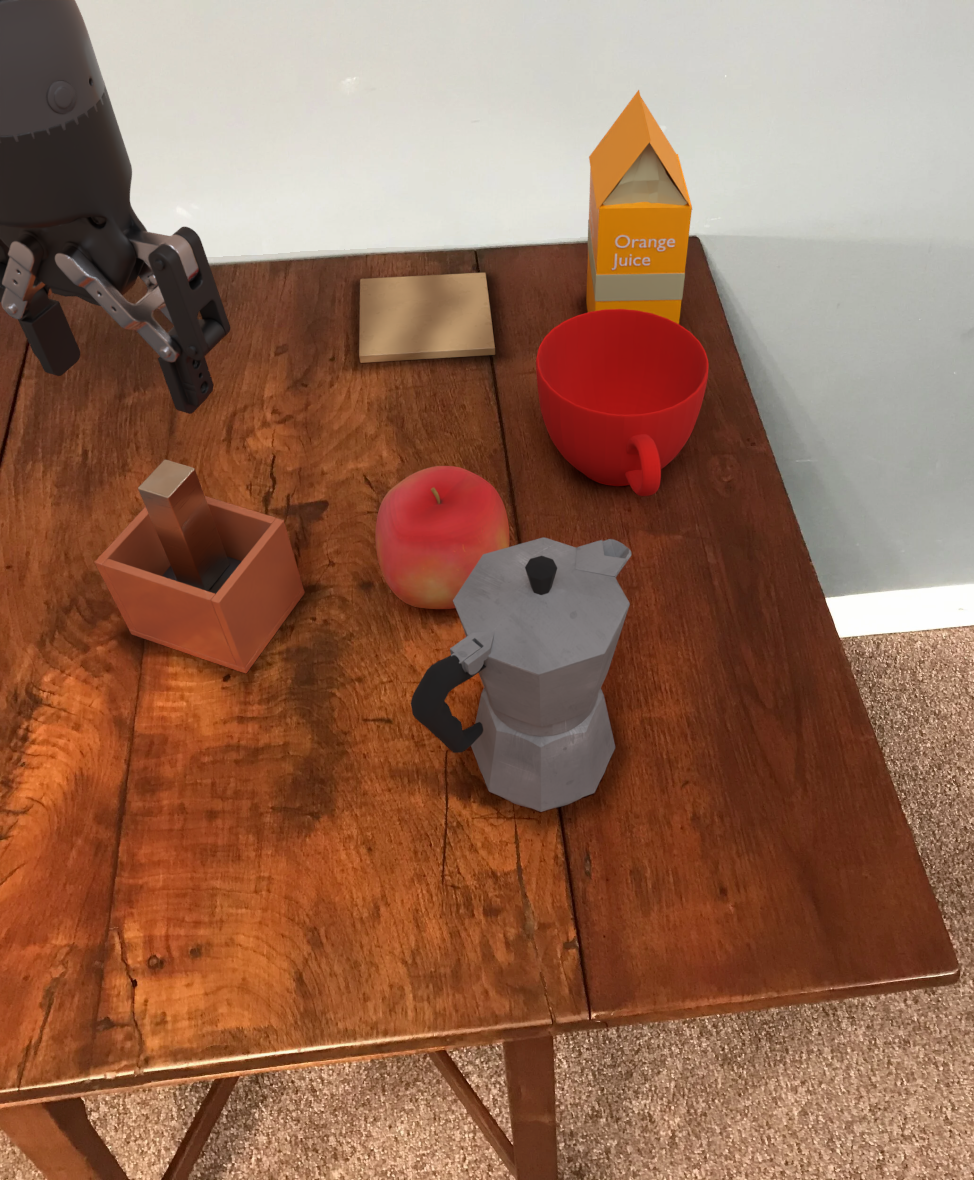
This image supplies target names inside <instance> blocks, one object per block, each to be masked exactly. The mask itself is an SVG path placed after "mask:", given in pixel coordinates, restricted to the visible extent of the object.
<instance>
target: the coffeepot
mask: <svg viewBox="0 0 974 1180" xmlns="http://www.w3.org/2000/svg"><path fill="white" fill-rule="evenodd" d="M631 556H632V551H631V549H630V548H629V547H628V546H626V545H625V544H623V542H621V541H618V540H616V539H613V538H608V539H605V540H603V539H600V540H595V541H594V542H593V541H592V542H590V543H586V544H583V545H580V546H572V545H569V544H566V543H564V542H560V541H557V540H554V539H551V538H548V537H546V536H545V537H544V536H543V537H540V538H536V539H533V540H529V541H526V542H521V543H518V544H515V545H511V546H509V547H507V548H504V549H500V550H497V551H493V552H490V553H486V554H483V555H482V557H481V558H480V560H479V561H478V563H477V564H476V566H475V568H474V569H473V571H472V572H471V574H470V575H469V577H468V578H467V580H466V581H465V583H464V584H463V586H462V587H461V589H460V591H459V592H458V594H457V595H456V597H455V598H454V600H453V603H454V605H455V608H454V609H455V610H456V612H457V615H458V618H459V620H460V621H459V622H460V623H461V627H462V629H463V632H464V635H465V637H464V638H463V639H462V640H460V641H458V642H457V643H456V644H454V645H453V646H451V647H450V648H449V652H450V655H448V656H446V657H444V658H442V659H440V660H438V661H436V662H435V663H433V664H431V665H430V666H429V667H428V668H427V669H426V671H425V673H424V674H423V675H422V678H421V680H420V681H419V683H418V685H417V686H416V688H415V690H414V692H413V694H412V696H411V701H410V707H411V713H412V716H413V717H414V719H416V721H418V722H419V723H420V724H421V725H422V726H424V727H425V728H426V729H427V730H428V731H429V732H430V733H431V734H433V735H434V736H435V737H436V738H437V739H438V740H439V741H440V742H441V743H442V744H443V745H444V746H445V747H447V749H448V750H449V751H451V752H452V753H453V754H463V752H465V751H466V750H468V749H469V748H470V747H471V750H472V752H473V755H474V757H475V758H474V759H475V760H476V763H477V766H478V769H479V771H480V774H481V775H482V777H483V780H484V783H485V786H486V788H487V790H488V792H489V793H491V794H493V795H496V796H498V797H500V798H502V799H504V800H506V801H508V802H510V803H511V804H515V805H517V806H521V807H524V808H527V809H532V810H535V811H537V812H540V813H542V812H547V811H549V810H552V809H557V808H560V807H565V806H569V805H571V804H572V803H574V802H578V801H579V800H581V799H583V798H584V797H587V796H589V795H593V794H595V793H596V791H597V788H598V786H599V784H600V782H601V780H602V778H603V777H604V775H605V773H606V770H607V767H608V765H609V763H610V760H611V758H612V756H613V754H614V752H615V750H616V744H615V743H616V742H615V739H614V735H613V731H612V726H611V721H610V717H609V712H608V708H607V704H606V698H605V695H604V692H603V690H602V686H603V684H604V682H605V679H606V677H607V675H608V673H609V670H610V667H611V664H612V661H613V658H614V655H615V651H616V649H617V645H618V642H619V639H620V636H621V633H622V630H623V627H624V624H625V620H626V617H627V614H628V612H629V608H630V605H631V603H630V601H629V600H628V598H627V596H626V594H625V592H624V590H623V589H622V587H621V585H620V584H619V581H618V580H617V577H618V575H619V574H620V573H621V572H622V569H623V568H624V566H626V564H627V563H628V561H629V560H630V558H631ZM476 675H479V679H480V680H481V683H482V685H483V689H482V691H481V693H480V698H479V703H478V708H477V714H476V718H475V723H473V724H472V725H470V726H469V727H466V728H464V729H463V724H462V721H461V720H460V719H458V717H456V716H455V715H453V713H452V711H451V708H450V705H449V704H448V703H447V702H446V699H447V697H448V695H449V693H450V692H451V691H452V690H454V689H456V688H457V687H458V686H460V685H462V684H464V683H466V682H467V681H468V680H471V679H472V678H473V677H475V676H476Z"/></svg>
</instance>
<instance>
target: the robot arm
mask: <svg viewBox="0 0 974 1180" xmlns="http://www.w3.org/2000/svg"><path fill="white" fill-rule="evenodd" d="M132 179H133V167H132V163H131V160H130V157H129V154H128V150H127V148H126V144H125V141H124V139H123V135H122V132H121V129H120V126H119V123H118V120H117V117H116V114H115V111H114V108H113V105H112V102H111V98H110V96H109V92H108V89H107V86H106V83H105V80H104V78H103V75H102V71H101V68H100V65H99V62H98V59H97V56H96V53H95V50H94V46H93V43H92V40H91V37H90V34H89V30H88V28H87V26H86V23H85V20H84V17H83V15H82V12H81V10H80V7H79V5H78V3H77V1H76V0H0V305H1V308H2V309H3V311H4V312H5V313H6V314H7V315H8V316H9V317H11V318H13V319H15V320H17V322H18V323H19V325H20V327H21V329H22V331H23V334H24V335H25V336H24V337H25V338H26V340H27V342H28V344H29V345H30V349H31V351H32V353H33V355H34V356H35V357H36V358H37V360H38V361H39V363H40V365H41V367H42V369H43V371H44V372H45V373H46V374H50V375H54V376H57V377H62V376H63V375H64V374H65V373H66V372H68V371H69V370H70V369H71V368H72V367H74V365H76V364H77V363H78V362H79V360H80V358H81V350H80V348H79V345H78V342H77V340H76V338H75V336H74V333H73V330H72V329H71V325H70V323H69V321H68V319H67V316H66V314H65V312H64V310H63V308H62V305H61V303H60V301H59V300H56V299H53V298H49V297H50V296H51V295H52V294H54V295H58V296H61V297H75V298H79V299H82V301H85V302H87V303H89V304H91V305H95V306H98V307H102V309H103V311H105V312H106V313H107V314H108V315H109V316H110V317H111V318H112V319H113V320H114V322H116V323H117V325H118V326H119V327H121V328H122V329H123V330H126V331H135V332H136V333H138V335H139V336H140V337H141V338H142V339H143V340H144V341H145V342H146V343H147V344H148V345H149V346H150V347H151V348H152V349H153V351H154V352H155V353H156V354H157V355H158V358H157V362H158V364H159V367H160V369H161V372H162V375H163V377H164V380H165V384H166V386H167V389H168V391H169V394H170V398H171V400H172V402H173V405H174V408H175V410H176V411H178V412H181V413H184V414H189V415H191V414H192V415H193V414H194V412H195V411H196V410H197V409H198V408H199V407H201V405H202V404H203V403H204V402H205V401H207V399H208V398H209V396H210V395H211V394H212V393H213V391H214V385H215V384H214V381H213V378H212V375H211V372H210V369H209V366H208V363H207V360H206V356H207V355H208V354H209V353H210V352H212V350H213V349H214V348H215V347H216V346H217V345H218V344H219V343H220V342H221V341H222V340H223V339H224V338H225V337H226V336H227V335H228V334H229V333H230V332H231V325H230V322H229V319H228V316H227V313H226V310H225V307H224V304H223V301H222V297H221V294H220V292H219V289H218V286H217V284H216V281H215V278H214V273H213V271H212V268H211V265H210V262H209V260H208V257H207V254H206V250H205V248H204V245H203V242H202V240H201V238H200V235H199V234H198V233H197V232H196V231H195V230H194V229H193V228H190V227H188V226H181V227H180V228H179V229H177V230H176V231H175V232H174V233H173V234H172V235H167V234H166V235H165V234H161V233H157V232H151V231H148V230H147V228H146V226H145V225H144V223H143V222H142V221H141V220H140V218H139V216H138V215H137V214H136V212H135V210H134V209H133V207H132V203H131V188H132ZM138 277H139V278H140V279H141V281H143V283H144V284H145V286H146V293H145V295H144V296H142V298H140V299H139V300H138V301H137V302H135V303H133V302H130V301H128V300H127V298H125V296H124V295H126V293H128V292H129V291H130V290H131V289H132V288H133V287H134V286H135V284H136V282H137V280H138ZM156 310H159V311H160V312H161V313H162V314H163V315H164V316H165V318H166V319H168V321H169V322H170V323H171V324H172V325H173V327H171V329H169V330H168V331H166V330H165V329H164V327H162V325H160V323H159V322H158V321H157V320H156V319H155V317H154V312H155V311H156ZM199 314H200V316H201V318H199V319H198V316H199Z"/></svg>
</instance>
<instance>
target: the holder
mask: <svg viewBox="0 0 974 1180" xmlns="http://www.w3.org/2000/svg"><path fill="white" fill-rule="evenodd" d="M205 498H206V501H207V504H208V506H209V509H210V512H211V515H212V517H213V520H214V523H215V526H216V528H217V531H218V534H219V537H220V540H221V542H222V545H223V548H224V551H225V553H226V556H228V557H231V558H234V559H237V560H240V561H242V562H241V563H240V564H239V566H238V567H237V568H236V569H235V571H234V572H233V573H232V574H231V576H230V577H229V578H228V579H227V581H226V582H225V583H224V584H223V586H222V587H221V588H220V589H219V591H218V592H217V593H216V594H215V593H212V592H209V591H206V590H202V589H199V588H196V587H193V586H190V585H187V584H184V583H181V582H178V581H175V580H172V579H169V578H166V577H163V576H162V575H163V574H164V573H165V572H166V570H167V569H168V568H169V567H170V566H171V565H170V562H169V560H168V558H167V555H166V553H165V551H164V548H163V546H162V544H161V541H160V539H159V537H158V534H157V532H156V530H155V527H154V525H153V523H152V520H151V518H150V516H149V513H148V511H147V509H146V506H145V505H144V507H143V508H142V510H141V511H139V513H138V514H137V515H135V517H134V518H133V519H132V520H131V522H130V523H128V525H127V526H126V527H125V528H124V529H123V530H122V531H121V532H120V533H119V534H118V535H117V537H115V539H114V540H113V541H112V542H111V543H110V544H109V545H107V547H106V549H104V551H103V552H102V553H101V554H100V555H99V556H98V557H97V558H96V559H95V560H94V564H95V566H96V568H97V570H98V572H99V574H100V576H101V578H102V581H103V582H104V584H105V587H106V588H107V591H108V592H109V595H110V596H111V597H112V599H113V601H114V603H115V606H116V607H117V609H118V611H119V613H120V615H121V617H122V619H123V621H124V623H125V625H126V627H127V628H128V630H129V633H130V634H131V635H132V636H134V637H138V638H140V639H144V640H147V641H150V642H152V643H156V644H158V645H161V646H164V647H166V648H167V647H168V648H170V649H173V650H176V651H179V652H182V653H185V654H187V655H190V656H194V657H195V658H199V659H202V660H205V661H207V662H211V663H214V664H216V665H220V666H222V667H225V668H228V669H231V670H234V671H237V672H240V673H242V674H248V672H249V671H250V669H251V668H252V667H253V666H254V664H255V663H256V661H257V660H258V659H259V657H260V656H261V654H262V653H263V652H264V650H265V649H266V648H267V646H268V645H269V643H270V642H271V640H272V639H273V638H274V636H275V635H276V633H277V632H278V631H279V629H280V628H281V626H282V625H283V624H284V623H285V621H286V620H287V619H288V617H289V615H290V614H291V612H292V611H293V610H294V609H295V608H296V606H297V605H298V603H299V602H300V600H301V599H302V598H303V596H304V595H305V593H306V592H305V589H304V585H303V582H302V578H301V575H300V572H299V571H300V570H299V568H298V564H297V561H296V558H295V554H294V550H293V547H292V543H291V540H290V537H289V532H288V530H287V525H286V523H285V520H284V519H283V518H279V517H275V516H272V515H269V514H265V513H262V512H259V511H255V510H252V509H249V508H246V507H243V506H239V505H236V504H233V503H230V502H226V501H224V500H220V499H216V498H213V497H210V496H208V495H207V496H206V495H205Z"/></svg>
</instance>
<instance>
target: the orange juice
mask: <svg viewBox="0 0 974 1180" xmlns="http://www.w3.org/2000/svg"><path fill="white" fill-rule="evenodd" d="M588 159H589V160H588V162H589V198H588V199H589V200H588V220H587V221H588V222H587V263H586V264H587V269H586V297H585V299H586V301H585V302H586V311H587V313H588V312H592V311H598V310H605V309H628V310H638V311H643V312H648V313H653V314H656V315H659V316H662V317H665V318H667V319H669V320H671V321H673V322H675V323H677V324H679V325H680V319H681V310H682V309H681V308H682V300H683V296H684V295H683V294H684V289H685V287H684V286H685V278H686V264H687V257H688V247H689V238H690V231H691V230H690V229H691V220H692V213H693V212H692V211H693V206H692V202H691V197H690V195H689V194H690V193H689V191H688V187H687V183H686V180H685V179H686V178H685V176H684V172H683V171H684V170H683V168H682V164H681V160H680V156H679V153H676V151H675V150H674V148H673V146H672V144H671V143H670V140H668V138H667V136H666V135H665V133H664V132H663V129H662V128H661V126H660V125H659V124H658V121H657V120H656V118H655V117H654V115H653V113H652V112H651V111H650V109H649V107H648V106H647V104H646V102H645V101H644V99H643V97H642V96H641V92H640V89H638V90H636V93H635V94H634V95H633V96H632V98H631V99H630V101H629V102H628V103H627V104H626V106H625V108H624V109H623V110H622V111H621V113H620V114H619V116H618V117H617V118H616V119H615V121H614V122H613V124H612V125H611V127H609V128H608V130H607V132H606V133H605V135H604V136H603V137H602V138H601V140H600V141H599V142H598V144H597V145H596V147H594V149H593V151H592V152H591V153H590V155H589V156H588Z"/></svg>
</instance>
